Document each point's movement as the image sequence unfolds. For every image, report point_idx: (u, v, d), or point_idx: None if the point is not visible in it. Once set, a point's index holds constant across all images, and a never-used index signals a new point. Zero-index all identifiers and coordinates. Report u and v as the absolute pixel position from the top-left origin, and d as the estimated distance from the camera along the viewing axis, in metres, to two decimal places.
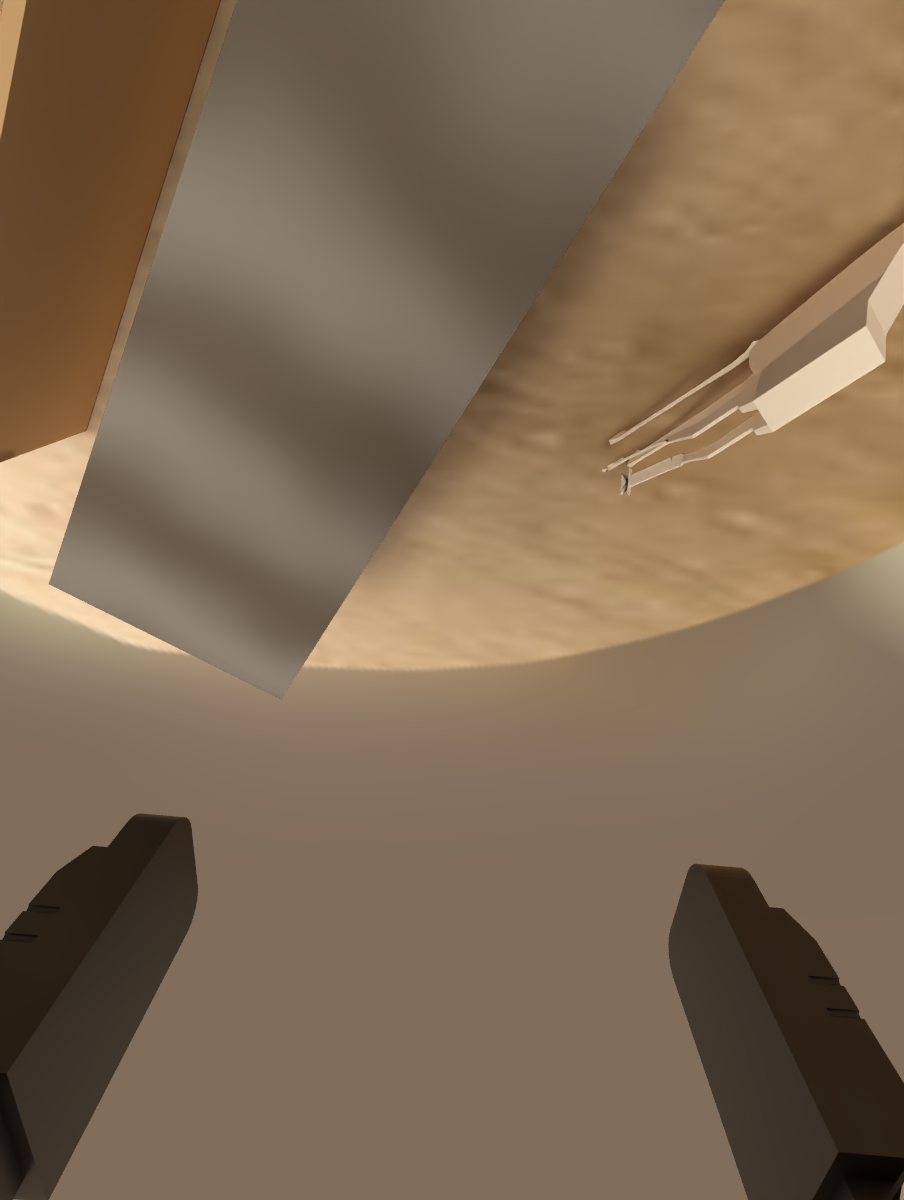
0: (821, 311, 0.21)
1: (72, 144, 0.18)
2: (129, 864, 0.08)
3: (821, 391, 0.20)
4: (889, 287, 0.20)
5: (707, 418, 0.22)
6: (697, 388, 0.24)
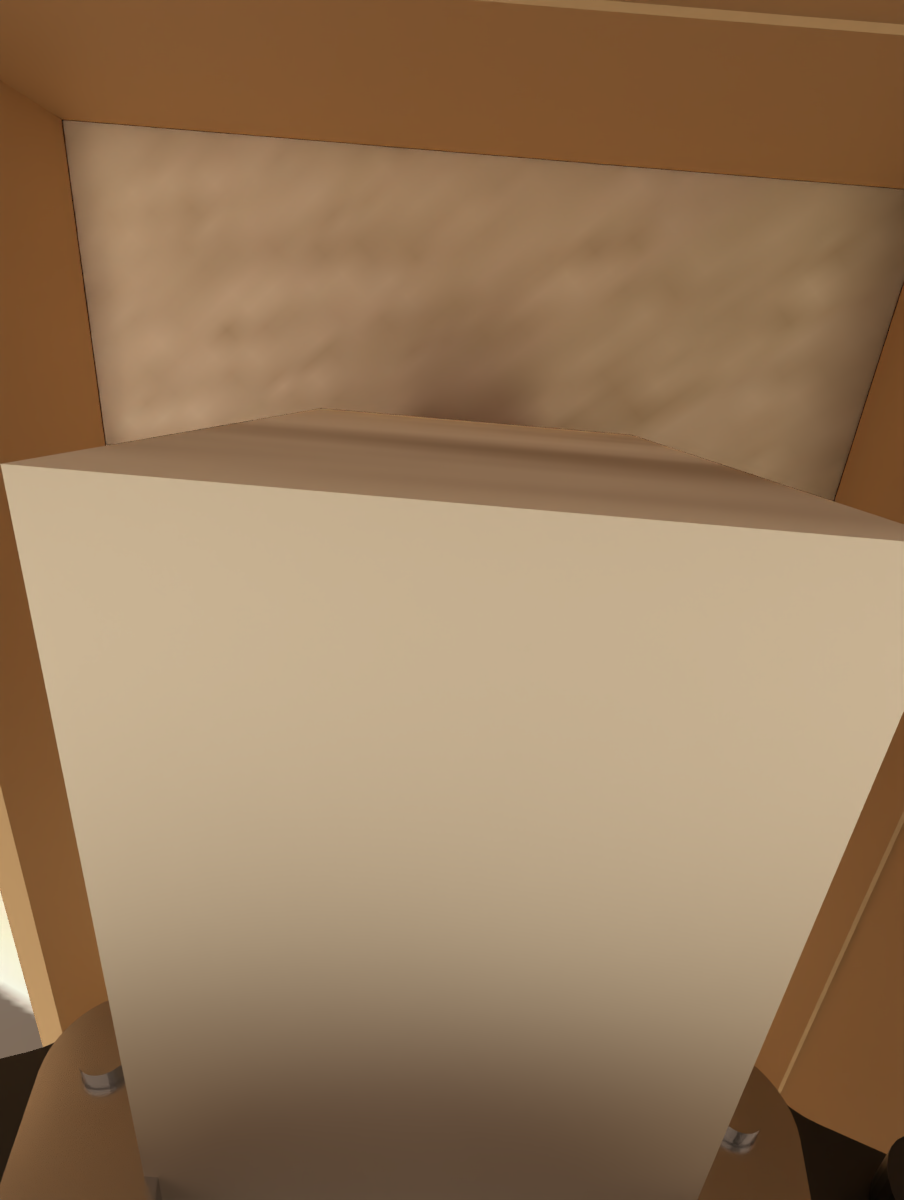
0: None
1: None
2: None
3: None
4: None
5: None
6: None
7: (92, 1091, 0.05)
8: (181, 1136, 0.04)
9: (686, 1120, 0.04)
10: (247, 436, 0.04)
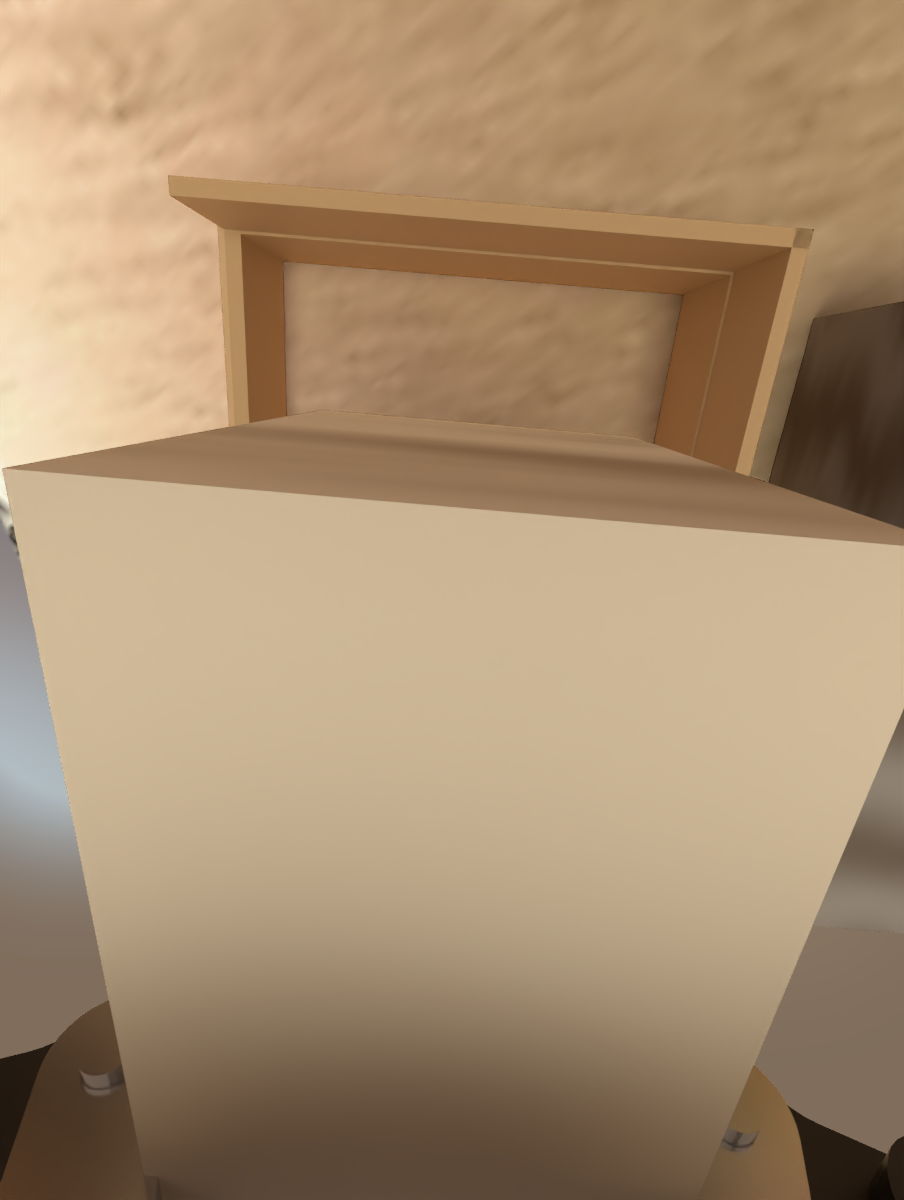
0: None
1: None
2: None
3: None
4: None
5: None
6: None
7: (92, 1091, 0.05)
8: (182, 1137, 0.04)
9: (685, 1121, 0.04)
10: (248, 439, 0.04)
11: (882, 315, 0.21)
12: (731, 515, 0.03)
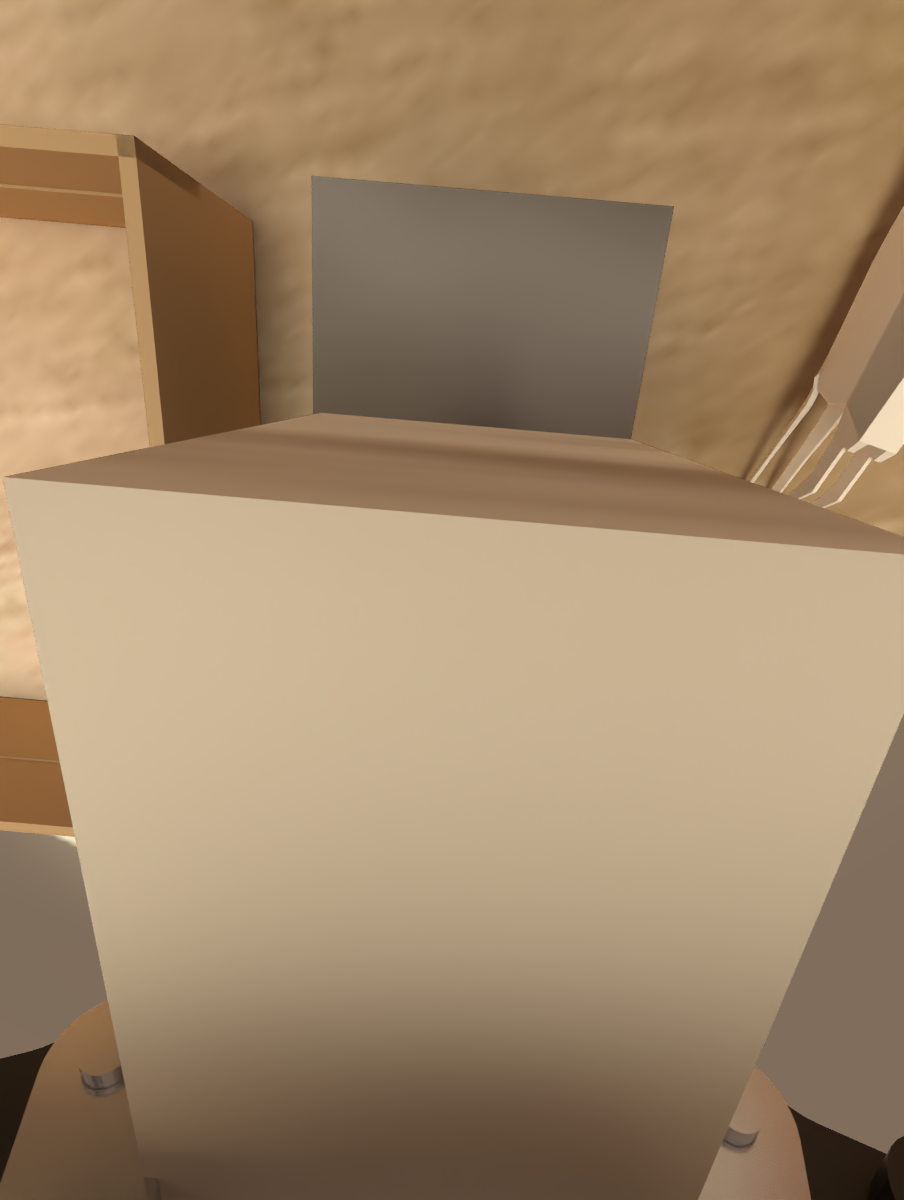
0: (871, 326, 0.21)
1: None
2: None
3: None
4: None
5: (817, 469, 0.22)
6: (783, 439, 0.25)
7: (92, 1090, 0.05)
8: (182, 1141, 0.05)
9: (685, 1125, 0.04)
10: (248, 444, 0.04)
11: None
12: (730, 523, 0.03)
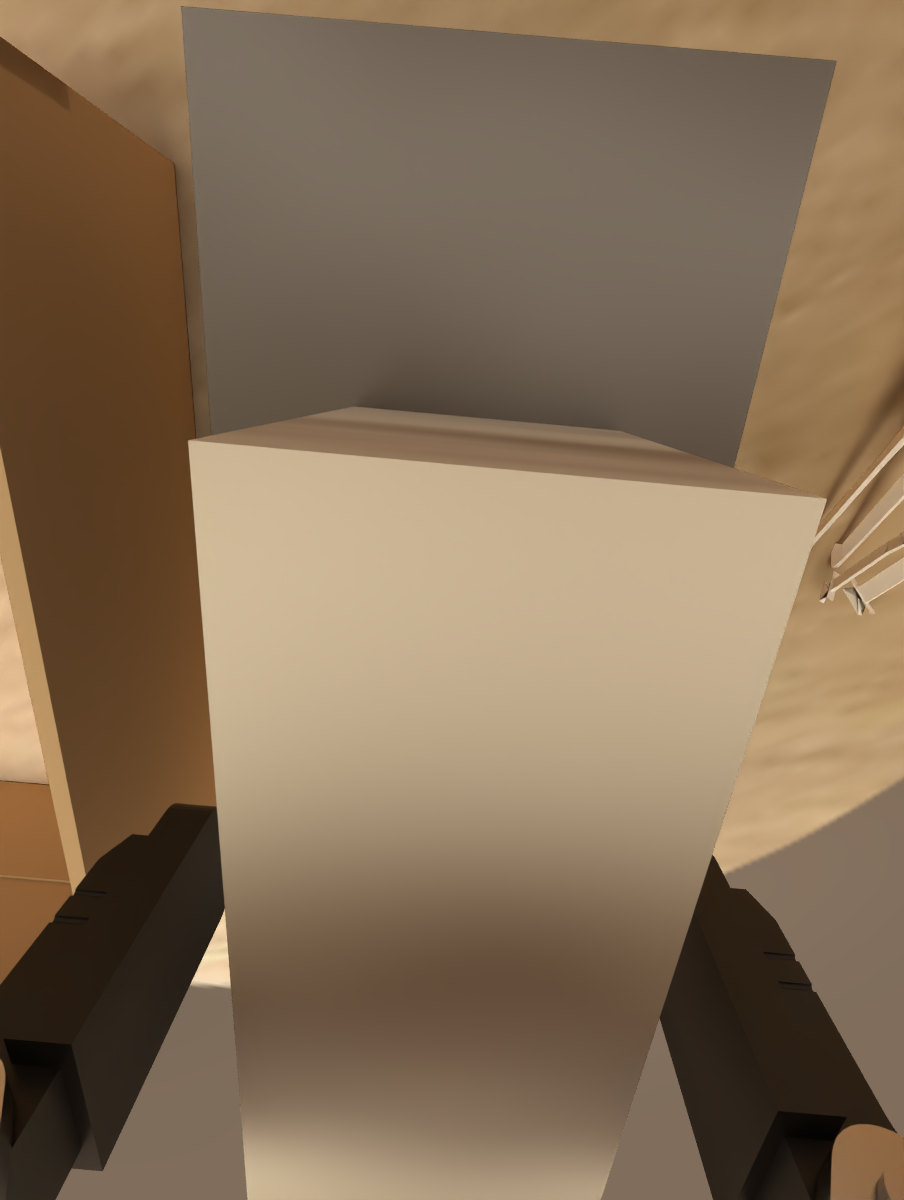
0: None
1: (116, 623, 0.17)
2: (171, 850, 0.08)
3: None
4: None
5: None
6: (892, 453, 0.18)
7: None
8: (264, 963, 0.06)
9: (650, 944, 0.06)
10: (319, 426, 0.06)
11: None
12: (675, 477, 0.04)
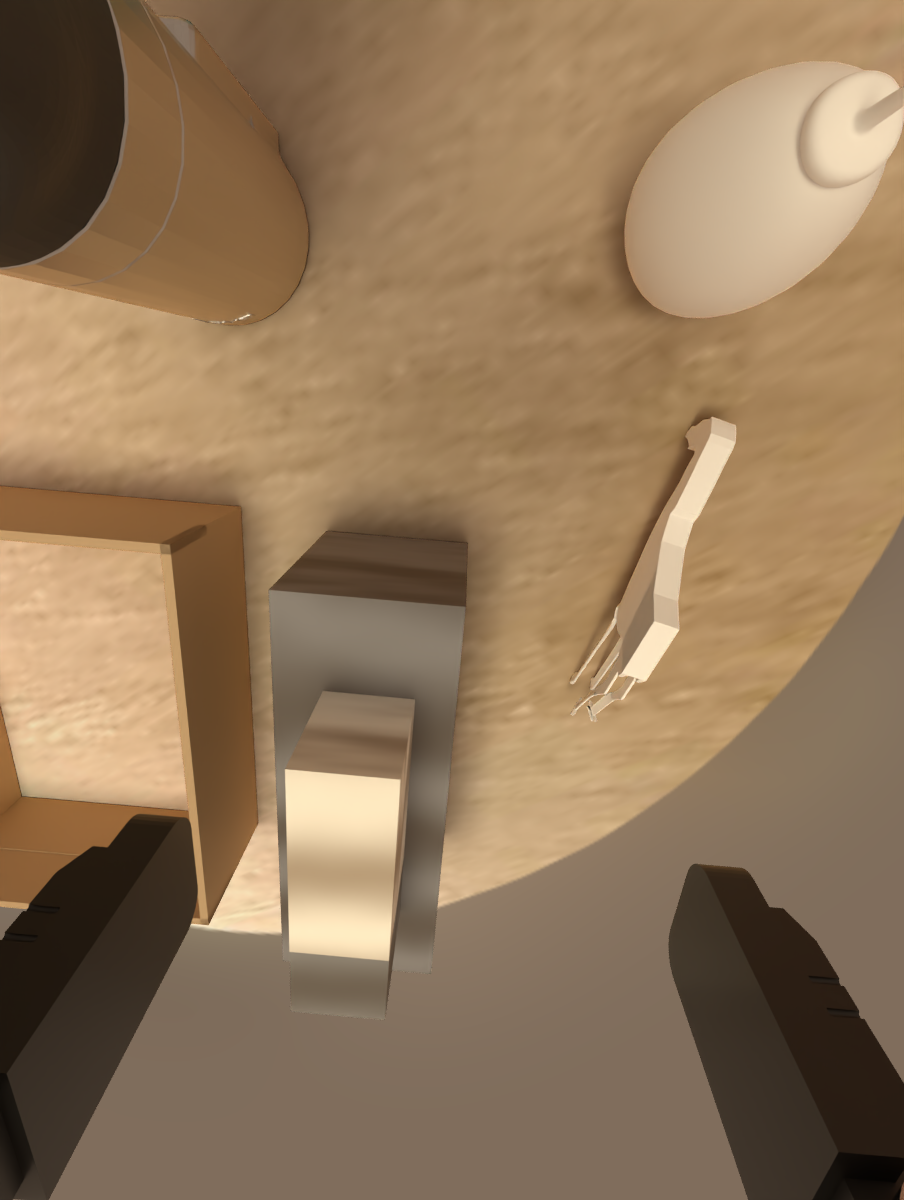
0: (639, 591, 0.33)
1: (215, 737, 0.35)
2: (129, 864, 0.08)
3: (656, 654, 0.31)
4: (665, 572, 0.31)
5: (608, 678, 0.34)
6: (600, 643, 0.36)
7: None
8: (296, 871, 0.24)
9: (387, 865, 0.24)
10: (309, 741, 0.24)
11: None
12: (377, 771, 0.22)
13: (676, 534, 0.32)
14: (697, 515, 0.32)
